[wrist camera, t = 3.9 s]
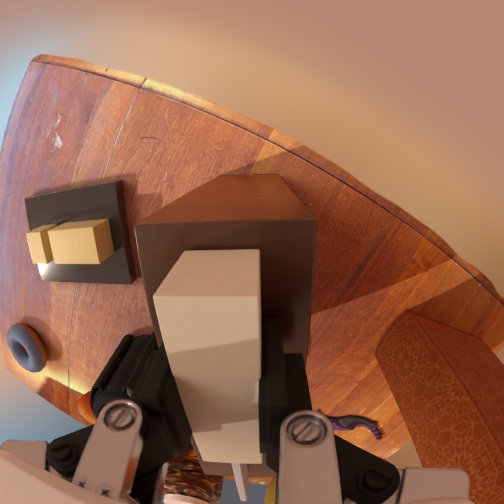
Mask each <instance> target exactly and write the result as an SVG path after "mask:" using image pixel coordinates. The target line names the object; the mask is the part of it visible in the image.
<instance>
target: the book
mask: <svg viewBox="0 0 504 504" xmlns="http://www.w3.org/2000/svg"><path fill="white" fill-rule="evenodd" d="M375 357H376V359H377V361H378V363H379V365H380V367H381V369H382V372H383V374H384V376H385V378H386V380H387V382H388V385H389V387H390V389H391V391H392V393H393V396H394V398H395V400H396V402H397V405H398V407H399V409H400V412H401V414H402V416H403V419H404V421H405V424H406V426H407V428H408V431H409V433H410V436H411V438H412V441H413V443H414V446H415V448H416V451H417V454H418V456H419V459H420V462H421V464H422V467H423V468H458V469H462V470H463V471H465V472H466V473H467V475H468V477H469V482H470V483H469V496H468V499H469V500H471V501H472V502H473V503H475V504H504V365H503V364H502V362H501V361H500V360H499V359H498V358H497V356H496V355H495V354H494V353H493V352H492V351H491V349H490V348H489V347H488V346H487V345H486V344H485V343H484V342H483V340H482V339H481V338H478V337H476V336H473V335H470V334H468V333H465V332H463V331H460V330H457V329H455V328H452V327H450V326H447V325H444V324H442V323H439V322H437V321H434V320H431V319H429V318H426V317H423V316H421V315H418V314H416V313H413V312H410V311H408V310H406V311H405V312H403V313H402V314H401V315H400V316H399V317H398V318H397V319H396V320H395V321H394V322H393V323H392V324H391V325H390V326H389V328H388V329H387V330H386V332H385V333H384V335H383V336H382V338H381V340H380V342H379V344H378V346H377V349H376V353H375Z"/></svg>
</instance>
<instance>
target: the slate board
mask: <svg viewBox="0 0 504 504" xmlns="http://www.w3.org/2000/svg"><path fill="white" fill-rule="evenodd" d="M25 205H26V212H27V218H28V223H29V229H30V231H32V230H34V229H36V228H38V227H40V226H42V225H51V224H57V226H59V225H61V224H63V223H69V222H79V221H89V220H100V219H109V224H110V231H111V237H112V242H113V248H114V253H113V254H112V255H111V256H109V257H108V258H107V259H105V260H104V261H103V262H102V263H100V264H55V262H54V260H52V261H51V262H49V263H48V264H38V267H39V271H40V275H41V278H42V280H43V281H61V282H82V283H109V284H132V283H133V282H134V281H135V280H136V275H135V270H134V264H133V259H132V253H131V248H130V242H129V235H128V229H127V222H126V214H125V206H124V198H123V188H122V180H118V181H111V182H105V183H98V184H92V185H86V186H80V187H74V188H69V189H64V190H58V191H53V192H49V193H44V194H39V195H35V196H30V197H27V198H25Z"/></svg>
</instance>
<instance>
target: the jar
mask: <svg viewBox="0 0 504 504" xmlns="http://www.w3.org/2000/svg"><path fill="white" fill-rule="evenodd" d="M222 483H223V476H219V475H208V474H204V472H203V469H202V467H201V465H200V463H199V460H198V458H197V456H196V453H195V451H194V449H192V450H190V451H187V452H183V455H182V456H179V455H174V458H173V459H172V460H170V461H169V462H168V470H167V475H166V480H165V486H164V491H163V495H164V503H165V504H218V503H219V501H220V497H221V491H222Z"/></svg>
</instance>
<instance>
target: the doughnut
mask: <svg viewBox="0 0 504 504" xmlns="http://www.w3.org/2000/svg"><path fill="white" fill-rule="evenodd" d="M7 341H8V345H9V348H10V350H11V352H12V354H13V356H14V358H15V359H16V360H17V361H18V363H19V364H20V365H21V366H22V367H23V368H25V369H26V370H28V371H31V372H39V371H41V370H42V369H43V368H44V367H45V366H46V362H47V356H46V351H45V348H44V346H43V343H42V342H41V340H40V338H39V337H38V336H37V334H36V333H35V332H34V331H33V330H32V329H31V328H30V327H28V326H26V325H25V324H21V323H17V324H15V325H13V326H11V327H10V328H9V330H8V333H7Z"/></svg>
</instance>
